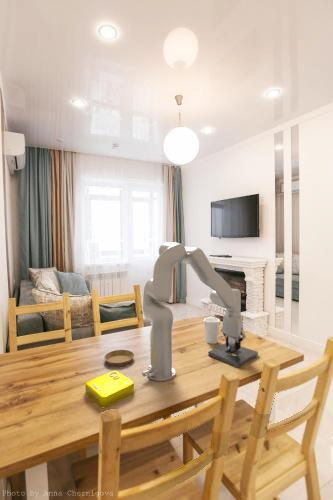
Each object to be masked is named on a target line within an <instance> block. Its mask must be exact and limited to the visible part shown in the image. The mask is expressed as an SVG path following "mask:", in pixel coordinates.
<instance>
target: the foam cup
mask: <svg viewBox="0 0 333 500" xmlns="http://www.w3.org/2000/svg"><path fill="white" fill-rule="evenodd" d="M203 326H204V327H203V328H204V334H205V340H206V343H207V344H211V345H212V344H214V345H215V344H217V343H218V340H219V331H220V326H221V319H220V318H218V317H213V316H212V317H209V316H208V317H204V319H203Z"/></svg>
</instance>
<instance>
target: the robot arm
mask: <svg viewBox="0 0 333 500" xmlns="http://www.w3.org/2000/svg"><path fill="white" fill-rule="evenodd" d="M158 255H159V256H158V258H157V259H156V261H155V264H154V267H153V275H152V278H150V279H149V280H147V281H146V283H145V285H144V287H143V301H142V312H143V315H144V317H145V319H146V320H148V322H150V323H151V328H150V337H149V338H150V339H149V340H150V341H149V342H150V343H149V344H150V365H149V366H148V369H147V370H145V371H143V372H142V373H141V374H142V377H148V378H149V379H150V380H152V381H155V382H167V381H170V380H172V379H173V378H174V377H175V376H176V369H174V368H173V358H172V357H173V355H172V354H173V353H172V352H173V351H172V349H173V345H172V344H173V343H172V341H173V339H172V333H173V331H172V329H173V325H174V324H173V323H174V314H173V311H172V310H171V308H170V307H168V306H167V305H165V304H163V303H166V302H168V301H169V300H170V298H171V297H172V293H173V292H172V290H173V274H174V269H175V267H176V265H177V264H178V263H179V264H184V265H185V264H186V265H189V266H190V267H191V269H193V271H194V273H195V275H196V276H197V278H198V280H199V281H200V282H201V283H202V284H204V285H205V286H206V287H209V288H210V289H211V290H212V291H211V292H210V294H209V300H210V301H211V302H212V303H213V304H215V305H217V306H221V307H223V308H224V309H223V311H224V312H225V314H223V319H222V326H221V329H220V332H221V334H222V335H223V336H224V339H225V343H226V347H228V335H230V336H233V337H236V341H237V342H236V350H239V349H240V347H241V342H242V341H243V340H245V339H247V335H246V333H245V332H244V322H243V317H242V312H241V309H242V307H241V303H242V302H241V297H242V296H241V295H242V294H241V290H240V289H237V288H232V287H231V286H230V284H229V283H228V282H227V281H226V280H225V279H224V278H223V277H222V276H221V275H220V274H219V273H217V272H216V270H215V269H214V267H213V266H212V264H211V262H210V261H209V259H208V257H207V255H206V254H205V252H204V251H203V249H202V248H199V247H195V246H185V245H184V244H183V243H180V242H164V243H162V244H160V246H159V249H158Z"/></svg>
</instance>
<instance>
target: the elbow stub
mask: <svg viewBox="0 0 333 500" xmlns="http://www.w3.org/2000/svg"><path fill="white" fill-rule="evenodd" d="M236 342H237V341H236V337H233V336H230V335H228V349H229V350H230V351H238V350H236Z"/></svg>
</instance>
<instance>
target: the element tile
mask: <svg viewBox="0 0 333 500" xmlns="http://www.w3.org/2000/svg"><path fill="white" fill-rule="evenodd" d="M134 393H135V382H134V380H132V379H131V378H129V377H127V376H126V375H124V373H123V374H122V373H121V372H120V371H118V370H116V369H115V370H111V371H108V372H106V373H104V374H102V375H100V376H97V377H94V378H92V379H89V380H87V381H86V382H85V394H86V395H87V397H88V398H90V399H91V400H92V401H93V402H94V403H96V405H97V404H98V405H97V406H99V407H100V408H102V407H105V408H107V407H110V406H111V405H115V403H118V402H120V401H122V400H124V399H126V398H128V397H129V396H132V395H133V394H134Z"/></svg>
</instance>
